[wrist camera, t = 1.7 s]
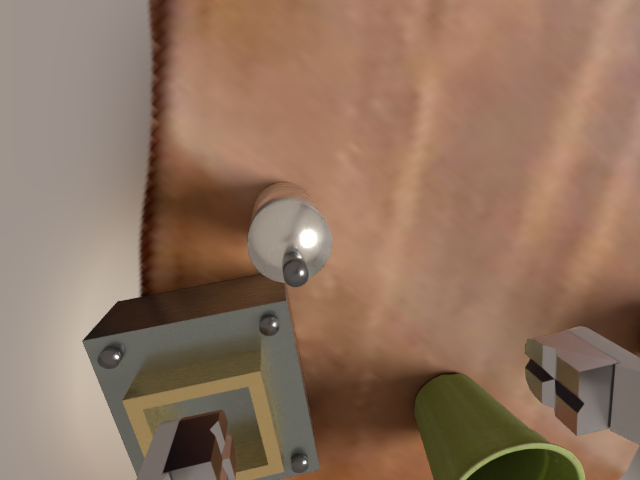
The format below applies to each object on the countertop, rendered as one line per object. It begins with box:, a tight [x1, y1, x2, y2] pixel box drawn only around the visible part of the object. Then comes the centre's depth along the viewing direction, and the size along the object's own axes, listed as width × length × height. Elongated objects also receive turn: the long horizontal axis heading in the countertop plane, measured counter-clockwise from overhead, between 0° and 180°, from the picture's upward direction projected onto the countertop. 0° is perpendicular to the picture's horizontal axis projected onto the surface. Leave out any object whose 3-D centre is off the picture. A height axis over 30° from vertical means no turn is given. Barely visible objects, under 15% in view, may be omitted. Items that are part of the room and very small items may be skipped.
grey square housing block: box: [82, 274, 320, 480], centre depth 29 cm, size 16×14×8 cm
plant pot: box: [414, 373, 585, 480], centre depth 33 cm, size 12×12×11 cm
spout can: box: [247, 182, 332, 287], centre depth 25 cm, size 5×5×11 cm
